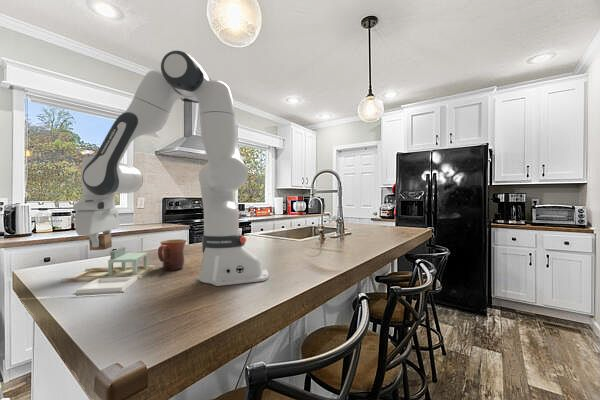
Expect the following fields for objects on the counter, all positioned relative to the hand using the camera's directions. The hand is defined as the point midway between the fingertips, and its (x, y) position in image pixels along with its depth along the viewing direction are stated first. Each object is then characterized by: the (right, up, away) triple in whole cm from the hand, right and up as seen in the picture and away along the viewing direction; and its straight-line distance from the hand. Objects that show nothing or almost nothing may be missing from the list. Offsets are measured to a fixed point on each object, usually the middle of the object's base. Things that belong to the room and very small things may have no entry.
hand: (101, 245), depth 93 cm
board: (+4, -10, 0) cm, 11 cm away
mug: (+19, -11, +8) cm, 24 cm away
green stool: (+9, -10, +1) cm, 13 cm away
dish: (+11, -10, -13) cm, 20 cm away
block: (0, -1, 0) cm, 1 cm away
